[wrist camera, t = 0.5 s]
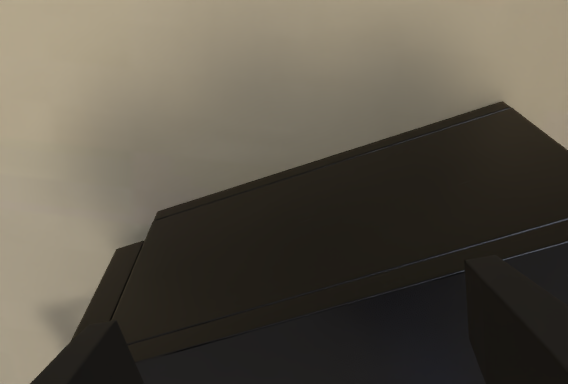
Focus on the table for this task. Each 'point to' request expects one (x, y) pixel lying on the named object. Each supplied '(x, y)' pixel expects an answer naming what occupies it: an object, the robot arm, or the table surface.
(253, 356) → the cabinet
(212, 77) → the table surface
